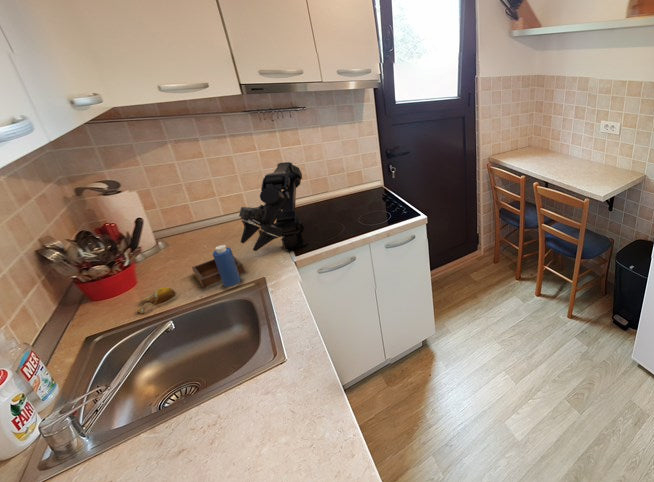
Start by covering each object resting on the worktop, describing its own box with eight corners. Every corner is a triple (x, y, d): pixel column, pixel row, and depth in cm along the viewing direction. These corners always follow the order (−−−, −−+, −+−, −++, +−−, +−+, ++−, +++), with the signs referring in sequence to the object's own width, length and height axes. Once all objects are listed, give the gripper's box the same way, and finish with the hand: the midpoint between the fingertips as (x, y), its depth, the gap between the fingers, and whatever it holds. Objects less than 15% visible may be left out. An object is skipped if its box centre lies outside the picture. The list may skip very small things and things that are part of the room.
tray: (233, 261, 124) (230, 252, 122) (244, 272, 117) (241, 263, 116) (195, 276, 115) (191, 267, 114) (204, 289, 108) (201, 280, 107)
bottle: (238, 278, 114) (226, 241, 109) (243, 283, 111) (231, 246, 106) (222, 285, 111) (209, 247, 105) (226, 290, 108) (213, 252, 103)
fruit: (142, 300, 104) (137, 290, 102) (176, 289, 109) (173, 280, 107) (139, 315, 98) (134, 305, 96) (175, 302, 103) (171, 293, 101)
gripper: (240, 191, 117) (212, 231, 112) (265, 203, 107) (236, 247, 103) (268, 204, 126) (244, 241, 121) (294, 216, 116) (269, 257, 112)
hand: (247, 246), depth 114 cm, fingers open, 9 cm apart
